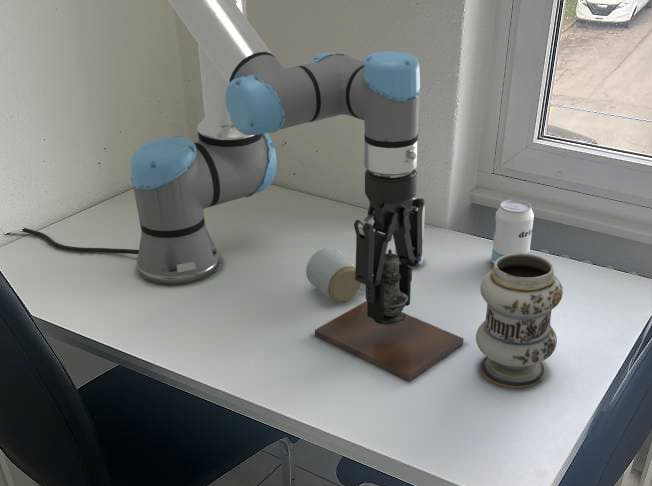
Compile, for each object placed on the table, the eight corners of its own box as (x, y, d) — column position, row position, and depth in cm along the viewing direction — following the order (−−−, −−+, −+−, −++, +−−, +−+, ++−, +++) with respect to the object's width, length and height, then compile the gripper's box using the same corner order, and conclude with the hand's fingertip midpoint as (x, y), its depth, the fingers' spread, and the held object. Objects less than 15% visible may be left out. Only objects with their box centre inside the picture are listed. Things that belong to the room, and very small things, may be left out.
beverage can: (516, 276, 149) (523, 216, 143) (484, 266, 153) (489, 207, 146) (533, 263, 154) (541, 204, 147) (502, 253, 157) (508, 195, 150)
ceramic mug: (329, 309, 139) (329, 269, 135) (305, 290, 145) (304, 251, 141) (379, 293, 144) (380, 254, 140) (354, 276, 150) (355, 238, 146)
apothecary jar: (503, 340, 131) (514, 239, 121) (567, 369, 124) (584, 264, 114) (457, 370, 124) (465, 265, 114) (522, 402, 117) (536, 294, 107)
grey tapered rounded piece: (369, 309, 131) (369, 241, 124) (404, 307, 131) (406, 240, 124) (372, 327, 126) (372, 258, 119) (409, 325, 126) (411, 256, 120)
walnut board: (314, 336, 132) (314, 330, 132) (370, 304, 141) (370, 298, 140) (409, 381, 122) (409, 375, 121) (463, 344, 130) (463, 338, 129)
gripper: (367, 194, 107) (367, 342, 120) (451, 157, 118) (443, 295, 132) (326, 181, 111) (331, 325, 124) (411, 146, 123) (407, 281, 136)
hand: (388, 309), depth 128 cm, fingers closed on grey tapered rounded piece, 6 cm apart
